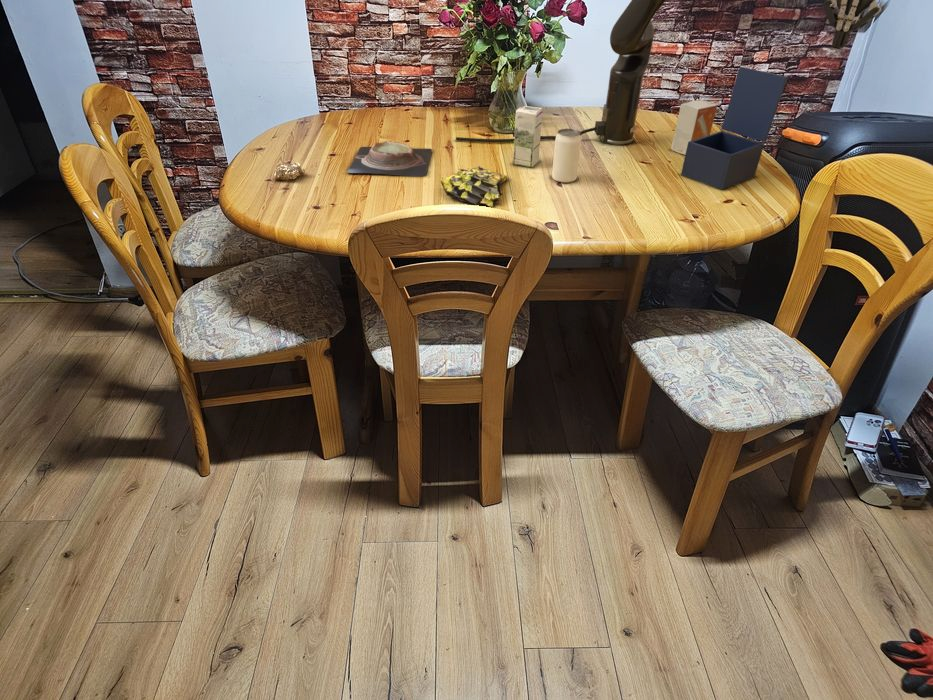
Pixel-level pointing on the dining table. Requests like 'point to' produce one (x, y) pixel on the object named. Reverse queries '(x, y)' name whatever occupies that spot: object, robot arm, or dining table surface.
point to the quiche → (391, 160)
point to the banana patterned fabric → (474, 186)
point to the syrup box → (527, 136)
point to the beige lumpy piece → (288, 171)
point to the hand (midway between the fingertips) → (837, 48)
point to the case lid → (753, 103)
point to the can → (566, 155)
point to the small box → (693, 123)
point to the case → (722, 159)
